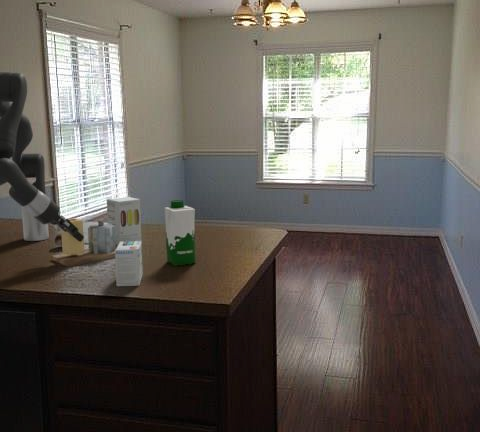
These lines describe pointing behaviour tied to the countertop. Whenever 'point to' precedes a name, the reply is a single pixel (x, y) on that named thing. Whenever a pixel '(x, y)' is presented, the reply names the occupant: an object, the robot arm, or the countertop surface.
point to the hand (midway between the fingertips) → (77, 238)
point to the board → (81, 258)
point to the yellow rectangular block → (73, 239)
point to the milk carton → (180, 233)
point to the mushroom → (58, 240)
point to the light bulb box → (128, 263)
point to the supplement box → (125, 218)
